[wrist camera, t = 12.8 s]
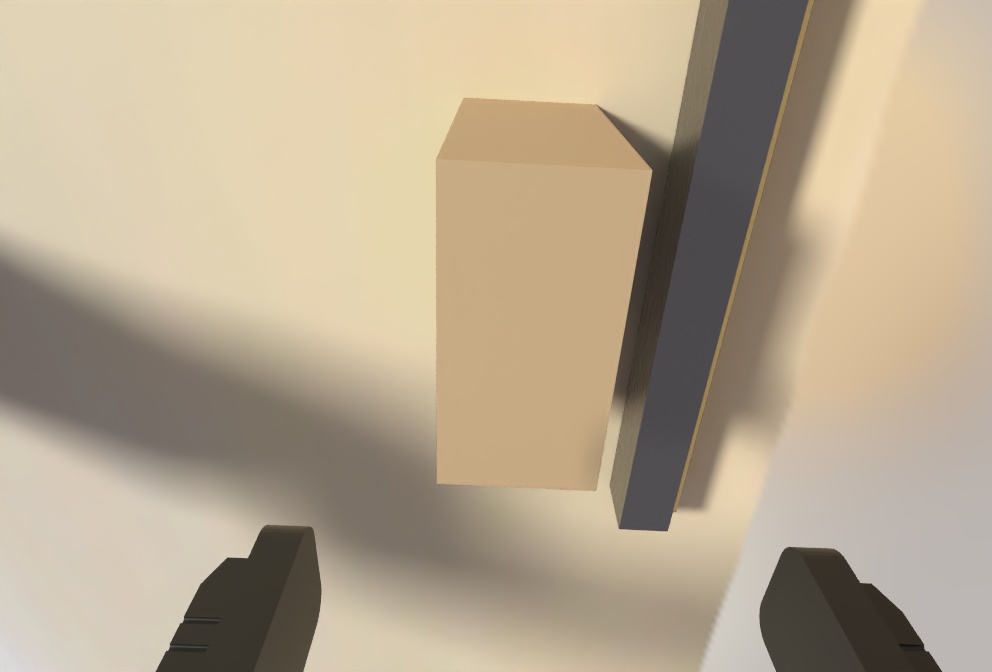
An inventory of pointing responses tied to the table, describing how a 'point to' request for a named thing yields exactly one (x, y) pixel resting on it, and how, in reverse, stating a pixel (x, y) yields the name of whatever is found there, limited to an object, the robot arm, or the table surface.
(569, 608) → the table surface
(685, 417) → the rail
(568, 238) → the carton
